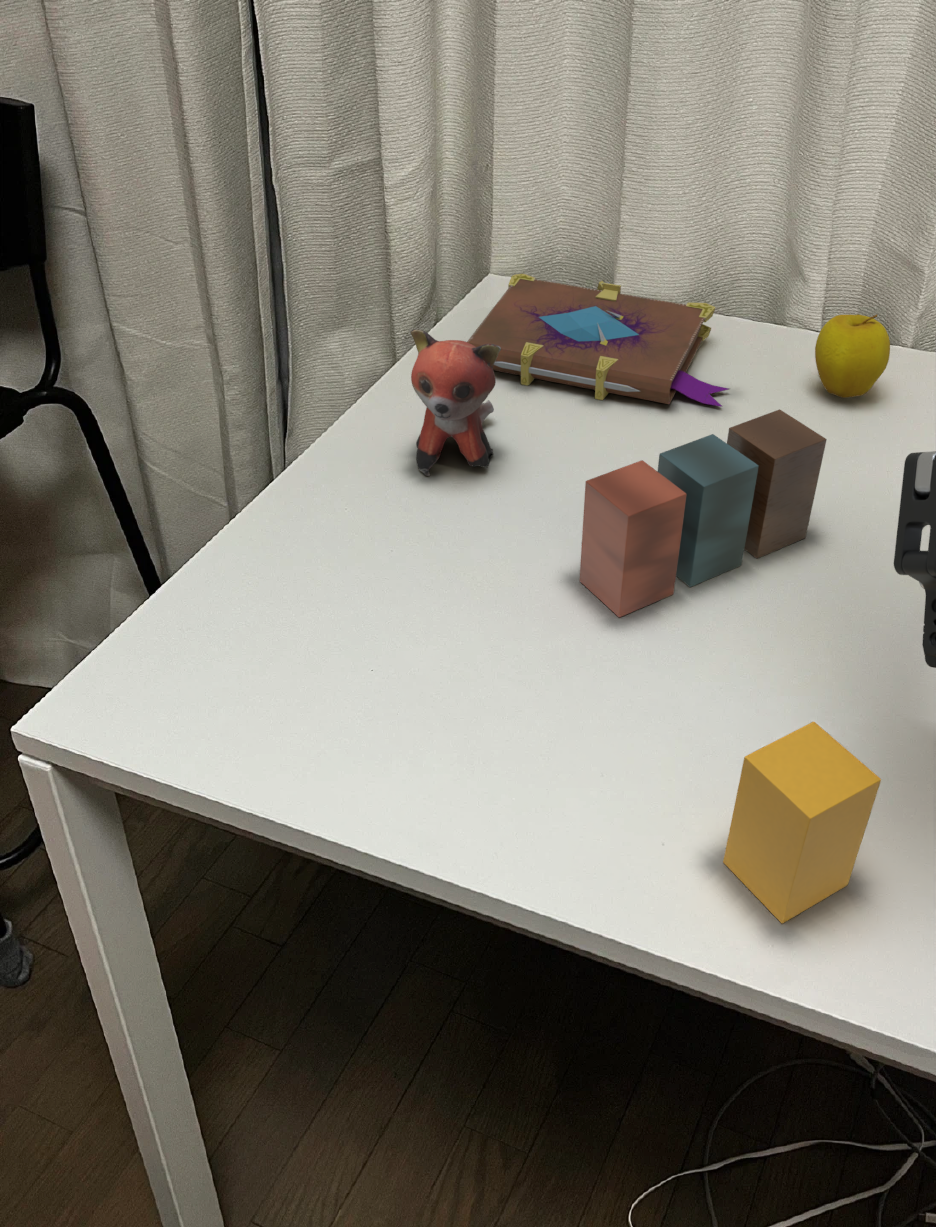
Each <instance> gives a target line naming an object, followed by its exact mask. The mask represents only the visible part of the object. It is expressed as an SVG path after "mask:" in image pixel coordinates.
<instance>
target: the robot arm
mask: <svg viewBox="0 0 936 1227" xmlns="http://www.w3.org/2000/svg"><path fill="white" fill-rule="evenodd" d="M900 492H901V493H900V502H899V510H898V521H897V529H896V537H895V545H894V546H895V547H894V556H893V568H894V571H895V572H896V573H897V574H898V575H900V576H909V577H911V578H912V579H914V580H915V581H918V583H919V585H920V588H922V589H923V590H924V593H925V601H924V614H923V624H924V625H923V627H922V628H923V629H922V630H923V631H922V632H923V633H922V644H921V646H922V651H923V656H924V661H925V663H926V665H927V666H928V667H930V668H934V669H936V450H932V451H920V452H910V453H909V454H908V455H907V456H906V457H905V459H904V466H903V474H902V483H901V490H900ZM927 526H929V536H928V545H927V546H928V547H927V550H921V544H922V536H923V530H924V528H925V527H927Z"/></svg>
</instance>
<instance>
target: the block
mask: <svg viewBox="0 0 936 1227" xmlns="http://www.w3.org/2000/svg"><path fill="white" fill-rule="evenodd" d="M881 783H882V779H881V778H880V777H879V776H878V775H877V774H876V773H874V771H872V770H871V769H870V768H869V767H868V766H867V765H865V764H864V763H863V762H862V761H861V760H860V759H858V757H856V756H855V755H854V754H853V753H851V752H850V751H849V750H848V749H847V748H846V747H845V746H843V745H842V744H841V743H840V742H838V741H837V740H836V738H834V737H833V736H832V735H831V734H829V733H828V731H826V730H825V729H823V728H822V727H821V726H820V725H819V724H818V723H816V721H811V722H810V723H808V724H806V725H804V726H801V727H800V728H797V729H795V730H794V731H792V732H790V733H788V734H786V735H784V736H782V737H780V738H778V739H776V740H774V741H773V742H770V743H768V744H767V745H765V746H763V747H760V748H758V749H756V750H755V751H753V752H751V753H749V754H747V755H745V756H744V757H743V761H742V767H741V771H740V776H739V782H738V785H737V786H738V787H737V791H736V795H735V801H734V806H733V811H732V816H731V821H730V826H729V831H728V836H727V841H726V845H725V849H724V850H725V851H724V856H723V860H722V863H723V864H724V865H725V866H726V867H727V868H728V869H729V870H730V871H731V872H732V873H733V874H734V875H735V877H736V878H737V879H738V880H740V882H741V883H742V884H743V885H744V886H745V887H746V888H747V889H748V890H749V891H750V892H751V893H752V894H753V895H754V896H755V897H756V898H757V899H758V901H759V902H760V903H762V905H763V906H765V908H766V909H767V910H768V911H769V912H770V913H771V914H772V915H773V916H774V918H775V919H777V921H779V922H780V923H781V924H784V923H787V922H788V921H789V920H791V919H793V918H795V917H796V916H797V915H800V914H801V913H803V912H805V911H807V910H808V909H810V908H812V907H813V906H815V905H817V904H818V903H820V902H822V901H823V900H825V899H827V898H828V897H830V896H832V895H833V894H835V893H837V892H839V891H841V890H842V889H844V888H845V887H848V885H849V883H850V880H851V876H852V874H853V869H854V867H855V864H856V861H857V858H858V855H859V851H860V848H861V845H862V842H863V839H864V836H865V832H866V829H867V827H868V823H869V820H870V817H871V813H872V810H873V808H874V805H875V801H876V797H877V795H878V791H879V788H880V785H881Z"/></svg>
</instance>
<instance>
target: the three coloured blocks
mask: <svg viewBox="0 0 936 1227" xmlns="http://www.w3.org/2000/svg"><path fill="white" fill-rule="evenodd" d="M826 445H827V438H826V437H824V436H822V434H820V433H818V432H816V431H815V430H813V429H812V428H810V427H808V426H807V425H805V424H804V423H802V422H800V421H799V420H798V419H796V418H794V417H792V416H791V415H790V414H788V413H786V412H785V411H783V410H782V409H777V410H774V411H771V412H769V413H766V414H763V415H761V416H757V417H754V418H752V419H750V420H747V421H744V422H741V423H739V424H736V425H733V426H730V427H728V433H727V440H726V441H724V440H723V439H721V438H720V437H718V436H717V435H715V434H714V433H712V434H711V433H710V434H709V435H706V436H703V437H701V438H698V439H696V440H693V441H690V442H687V443H684V444H682V445H678V446H677V447H674V448H670V449H668V450H665V451H662V452H660V453H659V454H658V463H657V469H655V468H654V467H652V466H651V465H650V464H648V463H647V462H646V461H644V460H642V459H641V460H638V461H636V462H633V463H631V464H628V465H625V466H622V467H619V468H617V469H614V470H611V471H608V472H606V473H604V474H601V475H598V476H595V477H593V478H590V479H587V480H585V484H584V499H583V514H582V515H583V516H582V517H583V519H582V532H581V533H582V534H581V548H580V562H579V566H580V567H579V578H578V580H579V582H580V583H581V584H582V585H583V586H584V587H585V588H587V589H588V591H589V592H591V593H592V594H593V596H595V597H596V598H597V599H598V600H600V601H601V602H602V603H603V604H604V605H605V606H606V607H607V608H608V609H610V611H611V612H612V613H613V614H614V615H616V616H617V617H618V618H622V617H625V616H627V615H629V614H631V613H634V612H636V611H639V610H641V609H643V608H645V607H647V606H650V605H652V604H654V603H656V602H659V601H661V600H663V599H666V598H669V597H671V596H673V595H675V586H676V579H677V578H678V579H680V581H682V582H683V583H684V584H685V585H687V586H688V587H689V588H692V587H694V586H696V585H699V584H702V583H703V582H707V581H708V580H711V579H713V578H715V577H717V576H720V575H722V574H725V573H727V572H729V571H732V570H734V569H736V568H740V567H741V566H742V563H743V558H744V552H745V551H746V552H747V553H749V555H751V556H753V557H754V558H755V559H761V558H762V557H764V556H766V555H769V554H771V553H774V552H776V551H778V550H780V549H783V548H785V547H788V546H790V545H792V544H795V543H797V542H799V541H801V540H804V539H806V538H807V533H808V529H809V523H810V519H811V515H812V510H813V505H814V500H815V496H816V492H817V491H816V490H817V486H818V482H819V477H820V473H821V472H820V471H821V467H822V464H823V459H824V453H825V450H826Z"/></svg>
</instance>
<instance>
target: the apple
mask: <svg viewBox="0 0 936 1227" xmlns="http://www.w3.org/2000/svg"><path fill="white" fill-rule="evenodd" d="M878 315H879V314H874V315H873V316H867V315H863V314H860V313H859V314H838V315H835V316H832V318H830V319H829V320H828V321H826V322H825V324H824V325H823V326H822V328H821V329H820V331H819V333H818V336H817V339H816V342H815V346H814V359H815V365H816V370H817V374H818V376H819V380H820V382H821V384H822V386H823V388H824V389H825V390H826V392H827V393H828V394H830V395H834V396H837V397H839V398H841V399H847V398H855V397H861V396H863V395H865V394H867V393H868V392H869V391H870V390H871V389H872V388H873V386H874V385H875V384H876V382H877V381H878V379H880V377H881V376H882V375H883V373H884V372H885V370H886V369H887V366H888V363H889V360H890V355H891V341H890V337H889V334H888V331H887V329H886V328H885V326H884V324H882V323H881V322H880V321H878V320H876V318H877V317H878Z"/></svg>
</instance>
